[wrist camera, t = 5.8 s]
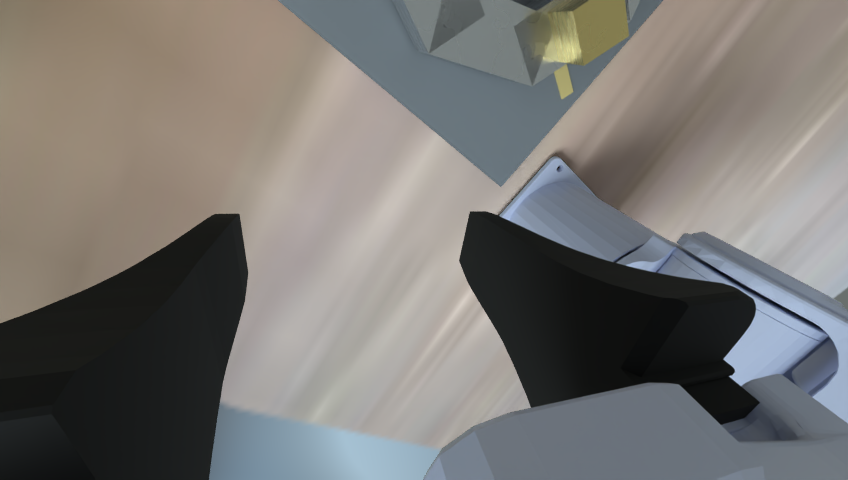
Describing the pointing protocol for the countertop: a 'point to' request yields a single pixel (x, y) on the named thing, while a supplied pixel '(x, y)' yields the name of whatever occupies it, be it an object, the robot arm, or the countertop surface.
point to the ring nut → (516, 33)
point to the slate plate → (456, 82)
